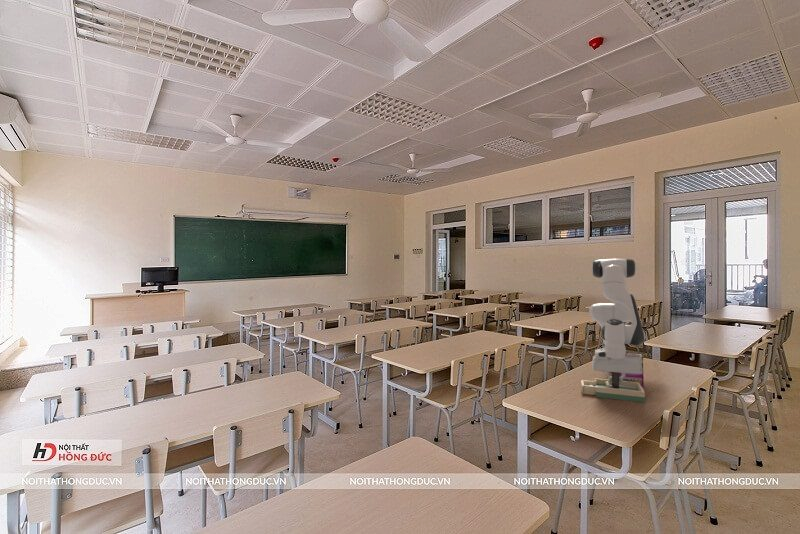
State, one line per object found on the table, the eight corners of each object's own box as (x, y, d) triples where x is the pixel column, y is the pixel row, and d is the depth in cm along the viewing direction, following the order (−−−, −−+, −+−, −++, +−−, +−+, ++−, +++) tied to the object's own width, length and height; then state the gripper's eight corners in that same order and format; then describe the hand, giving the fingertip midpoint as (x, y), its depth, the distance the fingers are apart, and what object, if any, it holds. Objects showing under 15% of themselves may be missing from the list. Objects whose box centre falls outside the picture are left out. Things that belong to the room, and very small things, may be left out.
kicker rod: (605, 385, 183) (605, 370, 183) (618, 387, 181) (618, 371, 181) (606, 389, 179) (606, 373, 179) (620, 390, 177) (619, 374, 176)
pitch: (580, 385, 192) (580, 376, 192) (639, 391, 181) (638, 382, 181) (582, 395, 179) (582, 385, 179) (645, 402, 169) (644, 392, 169)
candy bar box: (642, 384, 192) (642, 353, 191) (643, 387, 187) (643, 356, 187) (618, 381, 197) (617, 351, 196) (618, 384, 192) (618, 353, 192)
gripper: (638, 353, 178) (639, 381, 178) (591, 349, 186) (591, 376, 186) (641, 356, 172) (641, 385, 172) (592, 353, 180) (592, 380, 181)
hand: (615, 380), depth 179 cm, fingers closed on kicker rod, 3 cm apart
